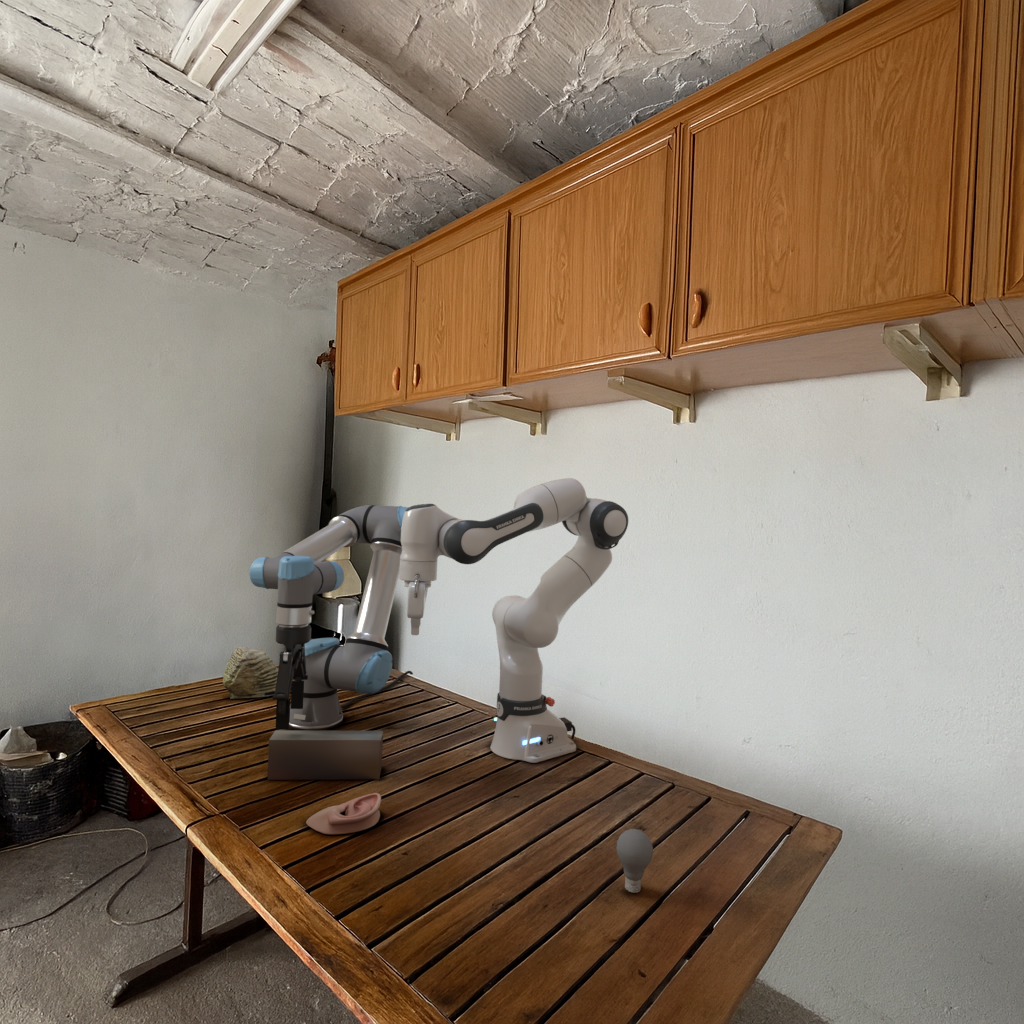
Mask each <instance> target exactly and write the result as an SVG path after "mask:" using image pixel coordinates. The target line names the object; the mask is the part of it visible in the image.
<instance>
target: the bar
mask: <svg viewBox="0 0 1024 1024" xmlns="http://www.w3.org/2000/svg"><path fill="white" fill-rule="evenodd" d="M383 742H384V730H325V731H307V730H292V729H275V730H274V732H273V733H272V735H271V736H270V738H269V739H268V755H267V757H268V758H267V781H302V780H303V781H306V780H307V781H311V780H312V781H313V780H314V781H315V780H317V781H318V780H320V781H323V780H324V781H325V780H326V781H328V780H329V781H331V780H332V781H334V780H337V781H339V780H342V781H343V780H380V779H381V778H380V777H381V773H382V768H383V767H382V766H383V745H384V743H383Z"/></svg>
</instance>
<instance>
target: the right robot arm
mask: <svg viewBox="0 0 1024 1024" xmlns="http://www.w3.org/2000/svg"><path fill="white" fill-rule="evenodd" d="M408 507H409V508H407V509H406V510H405V512H404V515H403V520H402V528H401V545H402V553H401V556H400V569H399V577H398V580H400V581H404V582H403V585H404V587H405V588H407V601H406V602H407V604H406V605H407V606H406V617H407V619H410V635H411V636H419V635H420V626H421V621H422V618H424V614H425V608H426V602H427V596H428V590H429V588H431V587H432V582H434V581H437V577H438V558H439V557H440V556H444V557H446V558H448V559H452V560H453V561H455V562H457V563H458V564H462V565H473V564H477V563H478V562H480V561H481V560H483V559H484V558H485V557H486V556H487V555H488V554H489V553H490V552H491V551H492V550H493V549H494V548H497V546H499V545H501V544H503V543H505V542H506V543H507V542H508V541H511V540H513V539H515V538H517V537H519V536H522V535H524V534H526V533H530V532H534V531H539V530H543V529H546V528H550V527H552V526H555V525H556V524H560V523H562V526H563V527H564V528H565V530H566V531H567V532H568V533H570V534H571V535H574V536H578V537H577V540H576V541H575V543H574V545H573V546H572V548H571V549H570V550H568V551H567V552H566V553H565V554H564V555H562V556H561V557H560V558H559V559H558V560H556V562H555V563H553V565H551V567H549V568H548V569H547V570H546V571H545V572H543V573H542V575H541V577H540V581H539V583H538V585H537V587H536V588H535V590H534V591H533V592H532V593H531V595H529V596H528V597H523V596H520V595H506V596H503V597H501V598H500V599H498V600H497V601H496V602H495V603H494V606H493V608H492V611H491V613H492V615H491V617H492V621H493V623H494V626H495V633H496V640H497V641H496V642H497V649H498V656H499V683H498V684H499V685H498V686H499V687H498V689H499V690H498V693H497V695H496V696H497V697H496V717H493V721H494V722H496V723H495V728H494V734H493V737H492V740H491V743H490V751H491V752H492V753H494V754H495V755H496V756H498V757H501V758H505V759H509V760H516V761H524V762H526V763H527V762H528V763H530V764H531V763H532V764H537V763H541V762H544V761H547V760H550V759H553V758H557V757H561V756H564V755H567V754H571V753H574V752H576V751H577V745H576V742H575V741H573V740H574V739H575V736H576V726H575V725H574V724H573V722H572V721H571V720H569V719H568V718H566V717H559V716H557V715H556V714H555V713H554V712H553V711H551V710H550V709H548V707H554V706H555V704H556V700H555V699H554V698H552V697H551V696H548V697H547V696H546V695H544V694H543V672H544V667H543V662H542V660H541V657H540V653H539V649H543V648H546V647H548V646H550V645H552V644H553V642H554V641H555V639H556V638H557V636H558V634H559V626H560V623H561V622H562V620H563V618H564V617H565V615H566V614H567V612H568V611H569V610H570V608H572V606H573V605H574V604H575V603H577V601H578V600H579V599H580V598H582V597H583V595H584V594H586V592H588V591H589V590H590V589H591V588H592V587H593V586H594V585H595V584H596V583H597V582H598V581H599V580H600V579H601V577H603V575H604V574H605V572H606V571H607V570H608V568H609V567H610V565H611V564H612V562H613V553H612V551H611V550H612V549H614V548H615V547H617V546H618V544H619V542H620V541H621V540H622V538H623V537H624V535H625V534H626V532H627V530H628V527H629V515H628V513H627V511H626V509H625V508H624V507H622V506H621V505H620V504H618V503H617V502H615V501H611V500H606V499H602V498H592V497H588V496H587V493H586V490H585V488H584V486H583V484H582V483H581V482H580V481H579V480H577V479H576V478H573V477H566V478H558V479H554V480H550V481H546V482H543V483H540V484H537V485H535V486H532V487H530V488H528V489H526V490H524V491H522V492H520V493H519V494H517V496H516V498H515V499H514V503H513V508H512V509H510V510H508V511H506V512H503V513H502V514H499V515H496V516H494V517H491V518H489V519H486V520H474V519H462V518H461V519H460V518H457V517H455V516H453V515H451V514H449V513H447V512H445V511H443V510H442V509H441V508H440V507H438V505H436V504H434V503H421V504H414V505H411V506H408ZM568 732H572V733H571V737H569V735H568Z"/></svg>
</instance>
